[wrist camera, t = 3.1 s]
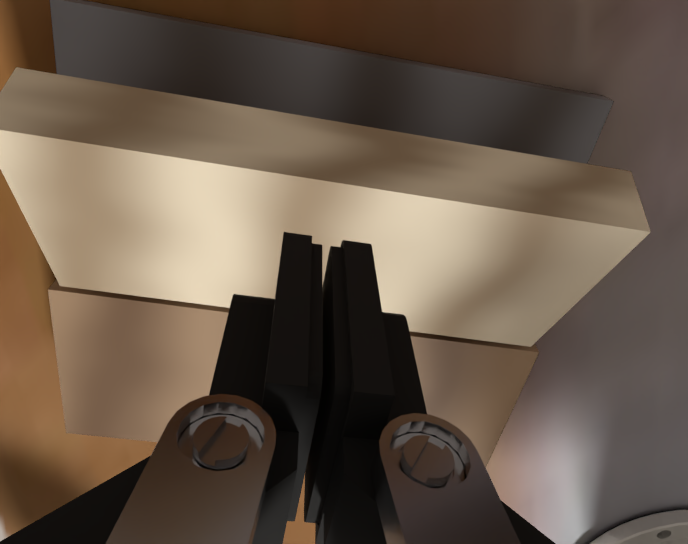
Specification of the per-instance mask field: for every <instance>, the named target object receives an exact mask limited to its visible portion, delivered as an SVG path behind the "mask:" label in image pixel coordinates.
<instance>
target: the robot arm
mask: <svg viewBox="0 0 688 544" xmlns="http://www.w3.org/2000/svg"><path fill="white" fill-rule="evenodd" d="M304 474H305V499H304V521H305V522H310V523H316V537H315V544H555V543H554V542H553V541H551V540H550V539H549V538H548V537H546V536H545V535H544V534H542V533H541V532H540V531H539V530H537V529H536V528H535V527H534V526H532V525H531V524H530V523H529V522H527V521H526V520H525V519H524V518H522V517H521V516H520V515H518V514H517V513H516V512H515V511H513V510H512V509H511V508H510V507H508V506H507V505H506V504H505V503H503V502H502V501H501V500H500V498H499V496H498V494H497V492H496V489H495V487H494V485H493V483H492V481H491V479H490V477H489V474H488V472H487V470H486V468H485V466H484V464H483V461H482V459H481V457H480V455H479V453H478V451H477V449H476V448H475V446H474V445H473V443H472V441H471V440H470V438H468V437H467V436H466V435H465V434H464V433H463V432H462V431H461V430H460V429H459V428H458V427H456V426H454V425H453V424H451V423H449V422H448V421H446V420H444V419H441V418H438V417H435V416H432V415H429V414H427V411H426V406H425V402H424V397H423V392H422V388H421V383H420V378H419V374H418V369H417V364H416V360H415V355H414V350H413V346H412V341H411V336H410V332H409V327H408V323H407V319H406V316H404V315H403V314H395V313H386V312H382V308H381V302H380V295H379V289H378V282H377V276H376V269H375V263H374V257H373V250H372V245H371V244H369V243H361V242H354V241H347V240H343V241H342V243H341V246H340V247H336V246H331V247H330V250H329V255H328V260H327V266H326V271H325V276H324V282H323V287H322V245H321V244H314V243H312V236H310V235H303V234H296V233H288V232H284V233H283V241H282V248H281V256H280V263H279V271H278V278H277V286H276V294H275V299H271V298H263V297H255V296H247V295H239V294H234V295H233V297H232V300H231V305H230V309H229V313H228V317H227V321H226V326H225V330H224V334H223V338H222V342H221V346H220V351H219V355H218V359H217V363H216V367H215V372H214V376H213V380H212V384H211V388H210V393H209V396H204V397H201V398H198V399H196V400H193V401H191V402H189V403H187V404H186V405H185V406H183V407H182V408H180V409H179V410H178V411H177V412H176V413H175V414H174V415H173V417H172V418H171V419H170V421H169V422H168V424H167V426H166V428H165V430H164V431H163V433H162V435H161V437H160V439H159V441H158V443H157V445H156V447H155V449H154V451H153V453H152V455H151V456H149V457H148V458H146V459H144V460H142V461H141V462H139V463H137V464H135V465H134V466H132V467H130V468H128V469H127V470H125V471H123V472H121V473H120V474H118V475H116V476H114V477H113V478H111V479H109V480H107V481H106V482H104V483H102V484H100V485H99V486H97V487H95V488H93V489H92V490H90V491H88V492H86V493H85V494H83V495H81V496H79V497H78V498H76V499H74V500H72V501H70V502H69V503H67V504H65V505H63V506H62V507H60V508H58V509H56V510H55V511H53V512H51V513H49V514H48V515H46V516H44V517H42V518H41V519H39V520H37V521H35V522H34V523H32V524H30V525H28V526H27V527H25V528H23V529H21V530H20V531H18V532H16V533H14V534H13V535H11V536H9V537H7V538H6V539H4V540H2V541H1V542H0V544H282V543H283V538H284V533H285V528H286V523H287V521H295V517H296V512H297V507H298V503H299V498H300V493H301V488H302V484H303V479H304ZM590 544H688V510H674V511H667V512H660V513H656V514H652V515H648V516H644V517H640V518H637V519H635V520H632V521H629V522H626V523H624V524H621V525H619V526H617V527H615V528H613V529H611V530H609V531H607V532H605V533H604V534H602V535H601V536H599V537H598V538H596V539H595V540H593V541H592V542H591V543H590Z"/></svg>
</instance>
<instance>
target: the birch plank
mask: <svg viewBox="0 0 688 544" xmlns="http://www.w3.org/2000/svg"><path fill="white" fill-rule="evenodd" d="M0 169H1V171H2V173H3V175H4V177H5V179H6V181H7V183H8V185H9V187H10V189H11V191H12V193H13V194H14V196H15V198H16V200H17V202H18V204H19V206H20V208H21V210H22V212H23V214H24V216H25V218H26V220H27V222H28V224H29V226H30V228H31V230H32V232H33V234H34V236H35V238H36V240H37V242H38V244H39V246H40V248H41V250H42V252H43V254H44V255H45V257H46V259H47V261H48V263H49V265H50V267H51V269H52V271H53V273H54V275H55V277H56V279H57V281H58V283H59V285H60V286H64V287H72V288H79V289H87V290H95V291H103V292H110V293H118V294H126V295H134V296H141V297H149V298H157V299H165V300H172V301H180V302H188V303H195V304H203V305H211V306H219V307H226V308H230V305H231V300H232V297H233V295H234V294H239V295H247V296H255V297H263V298H271V299H275V294H276V286H277V278H278V271H279V263H280V256H281V248H282V241H283V233H284V232H288V233H296V234H303V235H310V236H312V243H314V244H321V245H322V287H323V282H324V276H325V271H326V266H327V260H328V255H329V250H330V247H331V246H336V247H340V246H341V243H342V241H343V240H347V241H354V242H361V243H369V244H371V245H372V250H373V257H374V263H375V269H376V276H377V282H378V289H379V295H380V302H381V308H382V312H386V313H395V314H403V315H404V316H406V319H407V323H408V327H409V331H412V332H420V333H428V334H435V335H443V336H451V337H459V338H466V339H474V340H482V341H489V342H497V343H505V344H513V345H520V346H528V347H531V346H532V345H533V344H534V343H535V342H536V341H538V340H539V339H540V338H541V337H542V336H543V335H544V334H545V333H546V332H547V331H548V330H549V329H550V328H551V327H552V326H553V325H554V324H555V323H556V322H557V321H558V320H559V319H561V318H562V317H563V316H564V315H565V314H566V313H567V312H568V311H569V310H570V309H571V308H572V307H573V306H574V305H575V304H576V303H577V302H578V301H579V300H580V299H581V298H582V297H584V296H585V295H586V294H587V293H588V292H589V291H590V290H591V289H592V288H593V287H594V286H595V285H596V284H597V283H598V282H599V281H600V280H601V279H602V278H603V277H604V276H605V275H607V274H608V273H609V272H610V271H611V270H612V269H613V268H614V267H615V266H616V265H617V264H618V263H619V262H620V261H621V260H622V259H623V258H624V257H625V256H626V255H627V254H628V253H630V252H631V251H632V250H633V249H634V248H635V247H636V246H637V245H638V244H639V243H640V242H641V241H642V240H643V239H644V238H645V237H646V236H647V235H648V234H649V233H650V232H651V231H650V228H649V225H648V222H647V219H646V216H645V213H644V210H643V206H642V203H641V200H640V197H639V194H638V191H637V188H636V185H635V182H634V179H633V176H632V173H631V171H626V170H620V169H614V168H608V167H603V166H597V165H591V164H585V163H579V162H573V161H567V160H561V159H555V158H549V157H543V156H538V155H532V154H526V153H520V152H514V151H508V150H502V149H496V148H490V147H484V146H478V145H473V144H467V143H461V142H455V141H449V140H443V139H437V138H431V137H425V136H419V135H413V134H408V133H402V132H396V131H390V130H384V129H378V128H372V127H366V126H360V125H354V124H348V123H343V122H337V121H331V120H325V119H319V118H313V117H307V116H301V115H295V114H289V113H283V112H278V111H272V110H266V109H260V108H254V107H248V106H242V105H236V104H230V103H224V102H218V101H213V100H207V99H201V98H195V97H189V96H183V95H177V94H171V93H165V92H159V91H153V90H148V89H142V88H136V87H130V86H124V85H118V84H112V83H106V82H100V81H94V80H88V79H83V78H77V77H71V76H65V75H59V74H53V73H47V72H41V71H35V70H29V69H23V68H18V67H16V69H15V70H14V72H13V73H12V75H11V76H10V78H9V80H8V81H7V83H6V84H5V86H4V88H3V89H2V91H1V92H0Z"/></svg>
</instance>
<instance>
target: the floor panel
mask: <svg viewBox="0 0 688 544" xmlns="http://www.w3.org/2000/svg"><path fill="white" fill-rule="evenodd" d="M50 8H51V18H52V29H53V39H54V50H55V61H56V71H57V74H59V75H65V76H71V77H77V78H83V79H88V80H94V81H100V82H106V83H112V84H118V85H124V86H130V87H136V88H142V89H148V90H153V91H159V92H165V93H171V94H177V95H183V96H189V97H195V98H201V99H207V100H213V101H218V102H224V103H230V104H236V105H242V106H248V107H254V108H260V109H266V110H272V111H278V112H283V113H289V114H295V115H301V116H307V117H313V118H319V119H325V120H331V121H337V122H343V123H348V124H354V125H360V126H366V127H372V128H378V129H384V130H390V131H396V132H402V133H408V134H413V135H419V136H425V137H431V138H437V139H443V140H449V141H455V142H461V143H467V144H473V145H478V146H484V147H490V148H496V149H502V150H508V151H514V152H520V153H526V154H532V155H538V156H543V157H549V158H555V159H561V160H567V161H573V162H579V163H585V164H587V163H588V161H589V158H590V156H591V154H592V151H593V149H594V147H595V144H596V142H597V139H598V137H599V135H600V132H601V130H602V128H603V125H604V123H605V121H606V118H607V116H608V114H609V111H610V109H611V107H612V104H613V102H614V101H612V100H610V99H608V98H607V97H605V96H601V95H595V94H590V93H584V92H579V91H574V90H568V89H563V88H557V87H552V86H546V85H541V84H536V83H530V82H525V81H519V80H514V79H508V78H503V77H498V76H492V75H487V74H481V73H476V72H470V71H465V70H459V69H454V68H449V67H443V66H438V65H432V64H427V63H421V62H416V61H411V60H405V59H400V58H394V57H389V56H383V55H378V54H373V53H367V52H362V51H356V50H351V49H345V48H340V47H335V46H329V45H324V44H318V43H313V42H307V41H302V40H297V39H291V38H286V37H280V36H275V35H269V34H264V33H259V32H253V31H248V30H242V29H237V28H231V27H226V26H221V25H215V24H210V23H204V22H199V21H193V20H188V19H183V18H177V17H172V16H166V15H161V14H155V13H150V12H145V11H139V10H134V9H128V8H123V7H117V6H112V5H107V4H101V3H96V2H90V1H85V0H50ZM48 294H49V302H50V310H51V318H52V326H53V333H54V341H55V349H56V357H57V365H58V373H59V380H60V388H61V396H62V404H63V412H64V420H65V427H66V433H72V434H82V435H92V436H102V437H112V438H121V439H131V440H141V441H151V442H158V441H159V439H160V437H161V435H162V433H163V431H164V430H165V428H166V426H167V424H168V422H169V421H170V419H171V418H172V417H173V415H174V414H175V413H176V412H177V411H178V410H179V409H180V408H182V407H183V406H185V405H186V404H187V403H189V402H191V401H193V400H196V399H198V398H201V397H204V396H209V393H210V388H211V384H212V380H213V376H214V372H215V367H216V363H217V359H218V355H219V351H220V346H221V342H222V338H223V334H224V330H225V326H226V321H227V317H228V313H229V309H230V308H226V307H219V306H211V305H203V304H195V303H188V302H180V301H172V300H165V299H157V298H149V297H141V296H134V295H126V294H118V293H110V292H103V291H95V290H87V289H79V288H72V287H64V286H60V285H59V283H58V281H57V279H56V280H55V281H54V283H53V284H52V285H51V286H50V288H49V289H48ZM409 332H410V336H411V341H412V346H413V350H414V355H415V360H416V364H417V369H418V374H419V378H420V383H421V388H422V392H423V397H424V402H425V406H426V411H427V414H429V415H432V416H435V417H438V418H441V419H444V420H446V421H448V422H449V423H451V424H453V425H454V426H456V427H458V428H459V429H460V430H461V431H462V432H463V433H464V434H465V435H466V436H467V437H468V438H470V440H471V441H472V443H473V445H474V446H475V448H476V449H477V451H478V453H479V455H480V457H481V459H482V461H483V464H484V466H485V468H486V466H487V464H488V462H489V459H490V457H491V455H492V453H493V451H494V449H495V447H496V444H497V442H498V440H499V438H500V436H501V434H502V431H503V429H504V427H505V425H506V423H507V421H508V419H509V416H510V414H511V412H512V410H513V408H514V406H515V404H516V401H517V399H518V397H519V395H520V393H521V391H522V389H523V386H524V384H525V382H526V380H527V378H528V376H529V373H530V371H531V369H532V367H533V365H534V363H535V361H536V358H537V356H538V354H539V351H538V349H537V347H536V345H535V343H534V344H533V345H532V346H531V347H528V346H520V345H513V344H505V343H497V342H489V341H482V340H474V339H466V338H459V337H451V336H443V335H435V334H428V333H420V332H412V331H409Z"/></svg>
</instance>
